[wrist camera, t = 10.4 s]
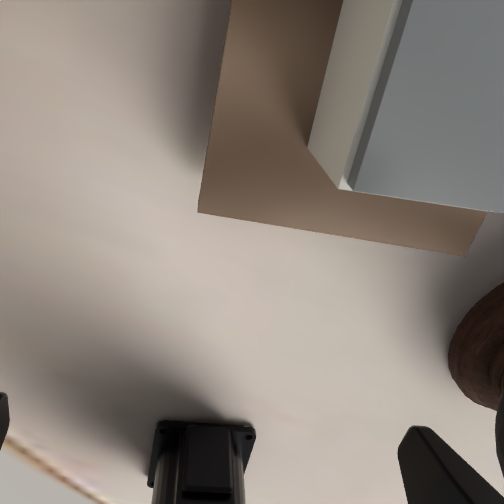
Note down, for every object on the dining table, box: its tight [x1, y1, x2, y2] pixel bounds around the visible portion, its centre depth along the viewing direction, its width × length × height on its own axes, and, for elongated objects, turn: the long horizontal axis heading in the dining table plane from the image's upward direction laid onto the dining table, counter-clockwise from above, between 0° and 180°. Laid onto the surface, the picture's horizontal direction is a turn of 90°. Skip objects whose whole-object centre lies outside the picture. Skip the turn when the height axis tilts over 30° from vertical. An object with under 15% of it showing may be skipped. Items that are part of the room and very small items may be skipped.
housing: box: [307, 0, 504, 213], centre depth 12 cm, size 9×5×5 cm, turn 170°
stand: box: [198, 0, 488, 256], centre depth 15 cm, size 16×12×3 cm
